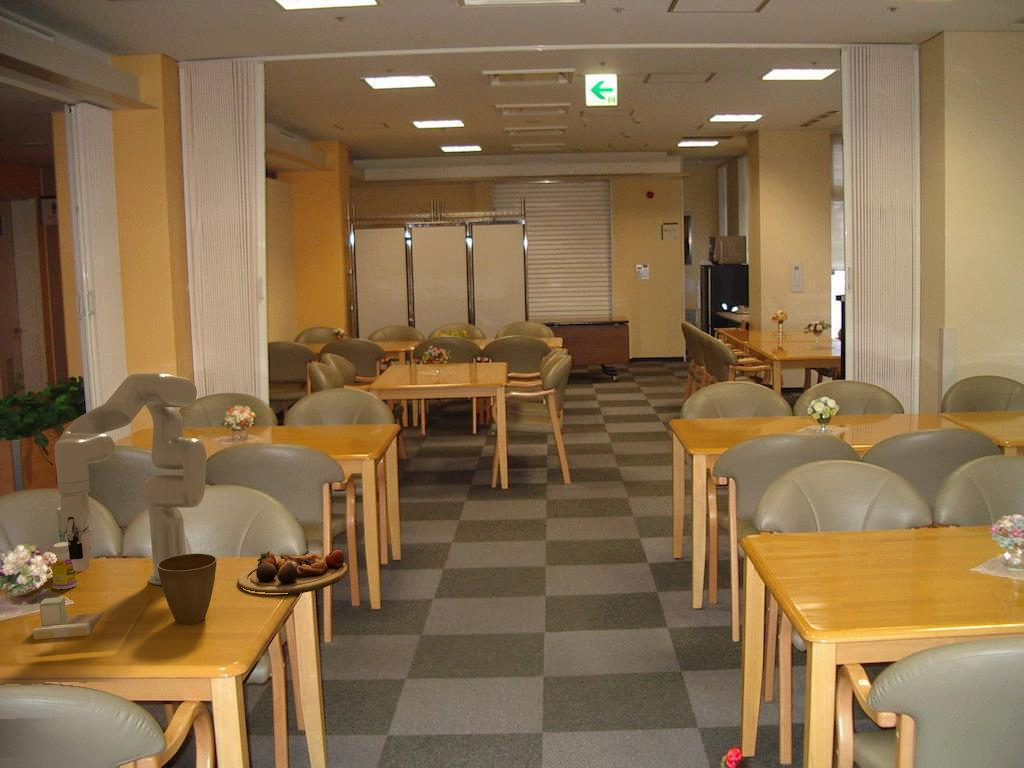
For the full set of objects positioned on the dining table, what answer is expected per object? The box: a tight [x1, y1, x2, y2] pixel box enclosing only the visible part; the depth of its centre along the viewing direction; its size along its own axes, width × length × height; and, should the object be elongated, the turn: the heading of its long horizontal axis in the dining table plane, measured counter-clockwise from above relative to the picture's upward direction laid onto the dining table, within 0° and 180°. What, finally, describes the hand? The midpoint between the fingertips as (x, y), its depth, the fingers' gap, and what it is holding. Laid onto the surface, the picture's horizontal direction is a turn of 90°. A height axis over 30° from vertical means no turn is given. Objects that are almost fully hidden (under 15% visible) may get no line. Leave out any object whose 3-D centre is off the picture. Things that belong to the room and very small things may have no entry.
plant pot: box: [157, 553, 218, 625], centre depth 266 cm, size 15×15×16 cm
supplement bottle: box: [51, 542, 79, 590], centre depth 297 cm, size 7×7×13 cm
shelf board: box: [33, 612, 105, 641], centre depth 263 cm, size 13×16×1 cm
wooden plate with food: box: [237, 549, 349, 595], centre depth 299 cm, size 32×32×8 cm
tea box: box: [39, 596, 67, 627], centre depth 262 cm, size 5×4×7 cm
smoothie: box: [65, 529, 93, 572], centre depth 261 cm, size 6×6×14 cm
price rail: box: [32, 623, 91, 640], centre depth 256 cm, size 13×2×4 cm, turn 98°
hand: (80, 554), depth 261 cm, fingers closed on smoothie, 6 cm apart
